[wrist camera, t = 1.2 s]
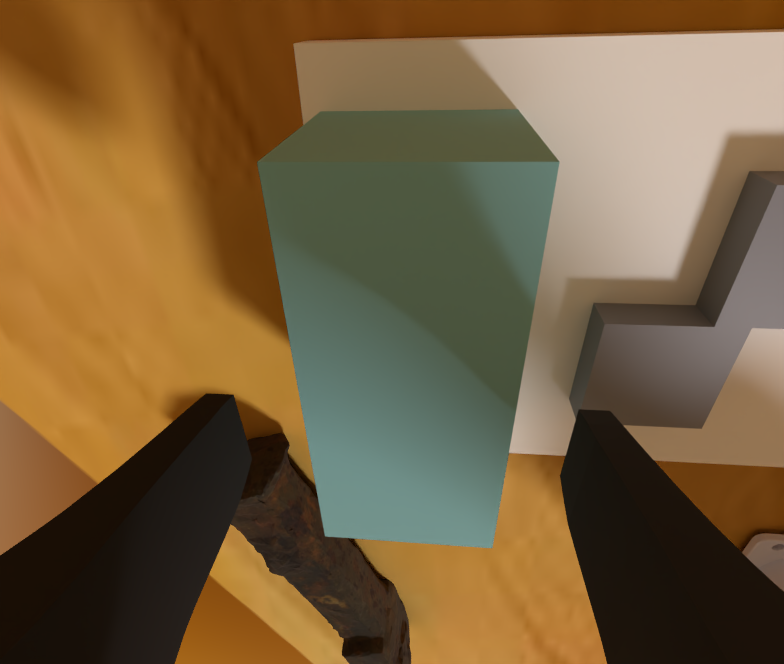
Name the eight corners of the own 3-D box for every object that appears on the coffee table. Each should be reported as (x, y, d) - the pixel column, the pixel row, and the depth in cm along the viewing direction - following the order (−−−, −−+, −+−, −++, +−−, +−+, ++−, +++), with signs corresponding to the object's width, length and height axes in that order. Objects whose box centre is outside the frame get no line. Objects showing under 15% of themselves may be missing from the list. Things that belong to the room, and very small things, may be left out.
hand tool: (218, 437, 22) (171, 525, 19) (291, 421, 21) (256, 512, 17) (369, 622, 32) (359, 705, 28) (425, 618, 31) (421, 704, 27)
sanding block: (518, 109, 12) (559, 161, 7) (480, 424, 18) (492, 547, 14) (320, 111, 12) (257, 162, 8) (351, 418, 18) (325, 536, 14)
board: (1062, 22, 11) (1142, 23, 10) (788, 438, 19) (812, 469, 18) (308, 40, 12) (293, 43, 11) (348, 418, 20) (342, 444, 19)
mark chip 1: (730, 306, 14) (751, 328, 13) (686, 403, 16) (701, 428, 15) (593, 302, 14) (604, 323, 13) (568, 398, 17) (576, 422, 16)
